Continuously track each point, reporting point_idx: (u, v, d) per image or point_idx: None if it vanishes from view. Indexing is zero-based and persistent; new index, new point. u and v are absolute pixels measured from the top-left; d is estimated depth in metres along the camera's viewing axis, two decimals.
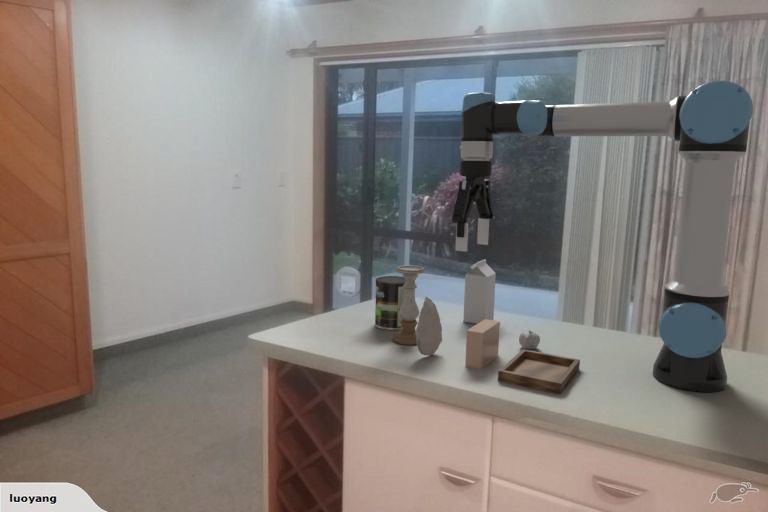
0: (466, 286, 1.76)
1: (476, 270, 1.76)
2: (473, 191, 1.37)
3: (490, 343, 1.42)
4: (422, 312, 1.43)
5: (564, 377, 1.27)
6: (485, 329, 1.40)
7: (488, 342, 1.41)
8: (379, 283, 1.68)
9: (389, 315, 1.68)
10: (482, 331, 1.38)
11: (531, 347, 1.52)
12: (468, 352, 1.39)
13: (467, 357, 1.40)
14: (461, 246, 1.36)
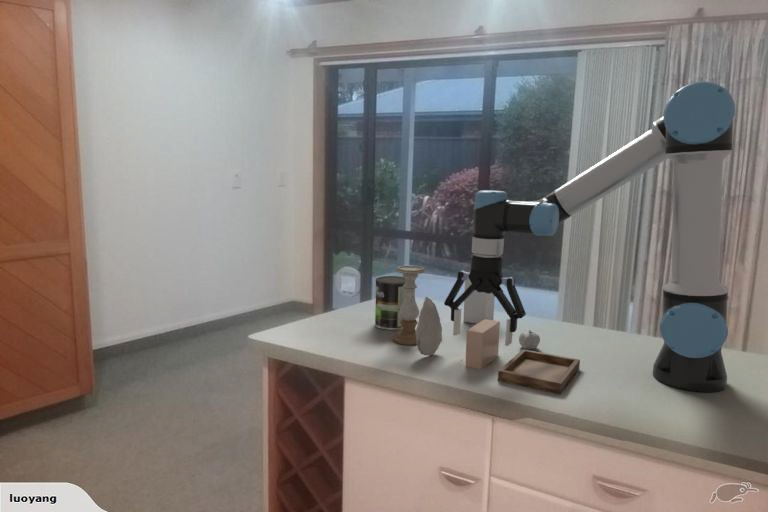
0: (466, 286, 1.76)
1: None
2: (472, 283, 1.42)
3: (490, 343, 1.42)
4: (422, 312, 1.43)
5: (564, 377, 1.27)
6: (485, 329, 1.40)
7: (488, 342, 1.41)
8: (379, 283, 1.68)
9: (389, 315, 1.68)
10: (482, 331, 1.38)
11: (531, 347, 1.52)
12: (468, 352, 1.39)
13: (467, 357, 1.40)
14: None
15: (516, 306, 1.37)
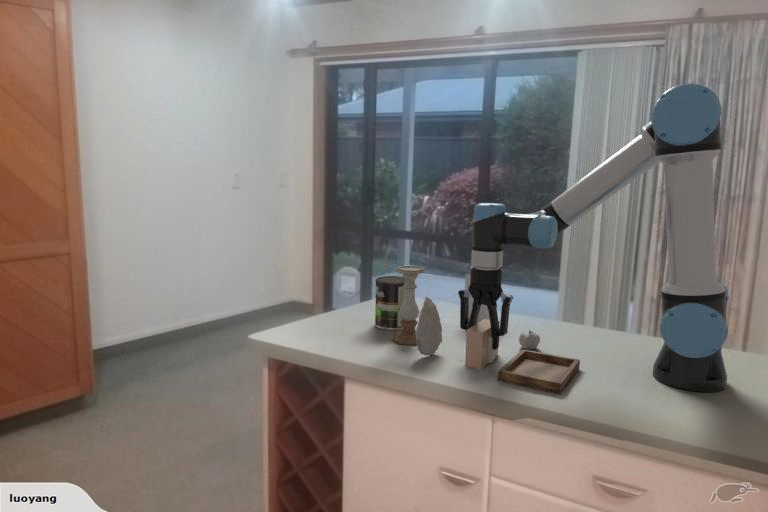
0: (466, 286, 1.76)
1: None
2: (474, 299, 1.42)
3: None
4: (422, 312, 1.43)
5: (564, 377, 1.27)
6: (485, 329, 1.40)
7: (488, 341, 1.41)
8: (379, 283, 1.68)
9: (389, 315, 1.68)
10: (482, 331, 1.38)
11: (531, 347, 1.52)
12: (468, 352, 1.39)
13: (467, 357, 1.40)
14: None
15: (502, 324, 1.39)
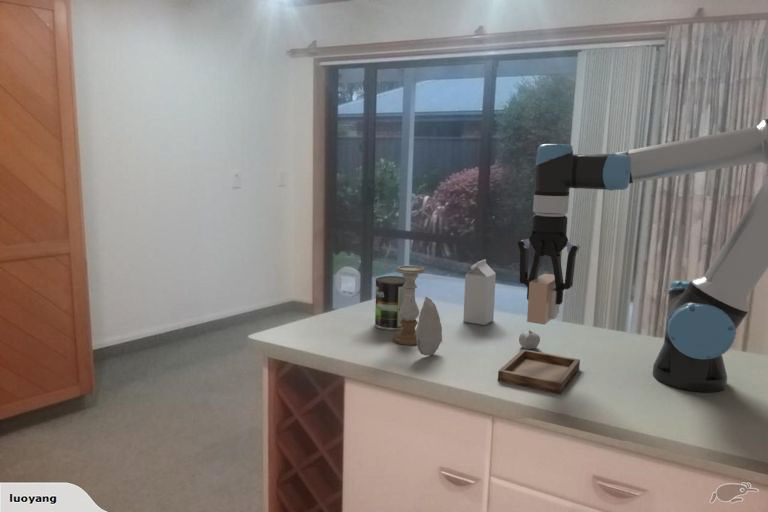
0: (466, 286, 1.76)
1: (476, 270, 1.76)
2: (536, 249, 1.31)
3: None
4: (422, 312, 1.43)
5: (564, 377, 1.27)
6: (549, 281, 1.28)
7: None
8: (379, 283, 1.68)
9: (389, 315, 1.68)
10: (546, 283, 1.26)
11: (531, 347, 1.52)
12: (530, 306, 1.28)
13: (529, 312, 1.28)
14: None
15: (568, 276, 1.27)
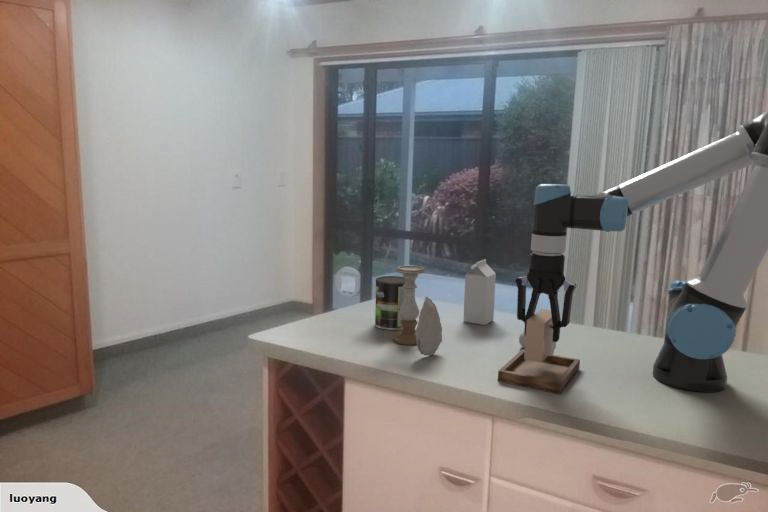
0: (466, 286, 1.76)
1: (476, 270, 1.76)
2: None
3: None
4: (422, 312, 1.43)
5: (564, 377, 1.27)
6: (546, 319, 1.30)
7: None
8: (379, 283, 1.68)
9: (389, 315, 1.68)
10: (543, 321, 1.28)
11: None
12: (527, 344, 1.29)
13: (526, 349, 1.30)
14: None
15: (565, 314, 1.29)
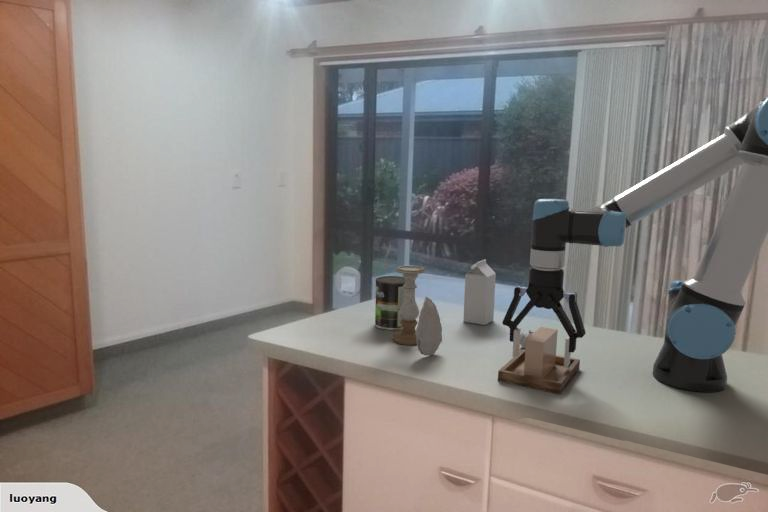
0: (466, 286, 1.76)
1: (476, 270, 1.76)
2: (530, 299, 1.33)
3: (549, 353, 1.33)
4: (422, 312, 1.43)
5: (564, 377, 1.27)
6: (545, 338, 1.30)
7: (548, 352, 1.32)
8: (379, 283, 1.68)
9: (389, 315, 1.68)
10: (543, 340, 1.29)
11: None
12: (527, 363, 1.30)
13: (526, 368, 1.30)
14: None
15: (577, 324, 1.28)
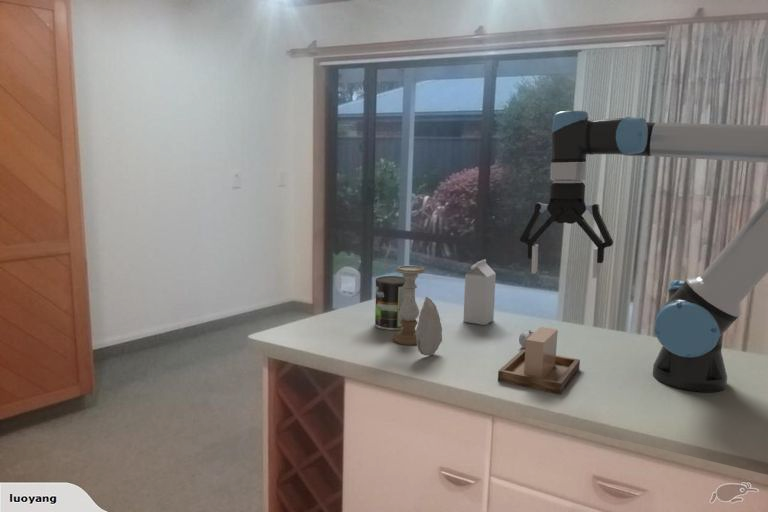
0: (466, 286, 1.76)
1: (476, 270, 1.76)
2: (551, 214, 1.32)
3: (549, 353, 1.33)
4: (422, 312, 1.43)
5: (564, 377, 1.27)
6: (545, 338, 1.30)
7: (548, 352, 1.32)
8: (379, 283, 1.68)
9: (389, 315, 1.68)
10: (543, 340, 1.29)
11: None
12: (527, 363, 1.30)
13: (526, 368, 1.30)
14: None
15: (604, 234, 1.27)
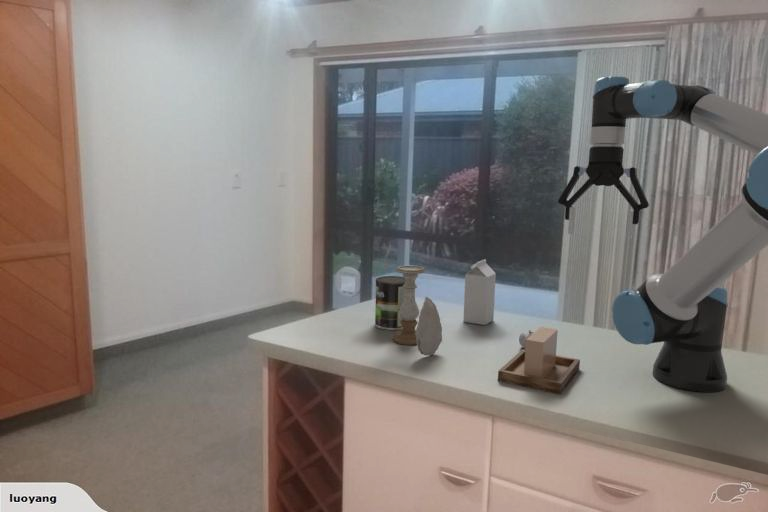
0: (466, 286, 1.76)
1: (476, 270, 1.76)
2: (589, 177, 1.38)
3: (549, 353, 1.33)
4: (422, 312, 1.43)
5: (564, 377, 1.27)
6: (545, 338, 1.30)
7: (548, 352, 1.32)
8: (379, 283, 1.68)
9: (389, 315, 1.68)
10: (543, 340, 1.29)
11: None
12: (527, 363, 1.30)
13: (526, 368, 1.30)
14: None
15: (640, 196, 1.32)
